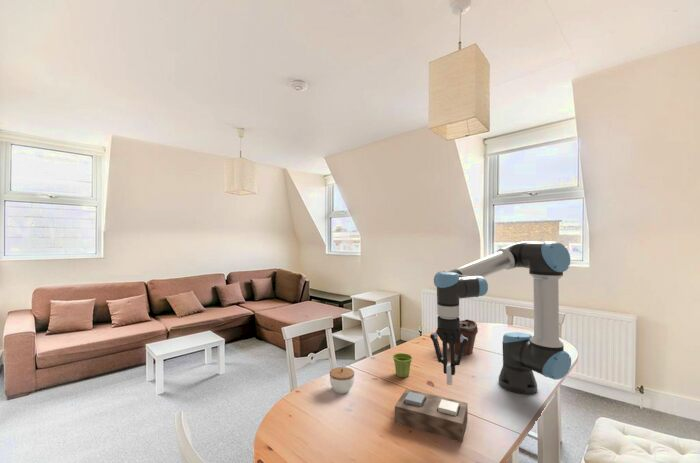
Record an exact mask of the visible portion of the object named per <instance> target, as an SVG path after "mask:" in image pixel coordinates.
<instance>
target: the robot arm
mask: <svg viewBox="0 0 700 463" xmlns="http://www.w3.org/2000/svg"><path fill="white" fill-rule="evenodd" d="M570 266H571V255H570V252H569V250H568V249H567V247H565V245H564V244H563V243H560V242H558V241H549V240H545V241H543V240H542V241H540V240H539V241H538V240H535V241H534V240H531V241H530V240H524V241H523V240H522V241H518V242H515V243H512V244H508V245H507V246H503V247H502V248H499V249H498V250H496V252H495V253H492V254H490V255H487V256H485V257H483V258H479V259H477V260H475V261H472V262H470V263H467V264H465V265H462V266H459V267H458V268H454V269H452V270H449V271H445V270H443V271H442V270H441V271H438V272H436V274H435V275H434V276H433V285H434V286H435V287H436V306H437V307H436V309H437V310H436V313H437V318H436V319H437V321H436V322H437V329H436V330H435V332H432V333H431V334H430V336H429V337H430V339H431V341H432V343H433V347H434V350H435V351H434V352H435V354H436V359H437V361H438V363H441V364H442V365H443V366H442V367H443V368H442V370H443V374H444V375H446V385H448V386H452V384H453V376H455V374H456V366H460V365H461V361H462V357H463V350H464V346H465V344H466V343H467V341H468V338H467V337H464V336H463V335H461V331H460V321H461V319H460V314H461V313H460V299H465V298H466V299H467V298H478V297H483V296H485V295H486V294H487V293H488V291H489V284H488V282H487V280H486V278H485V277H488V276H491V275H493V274H495V273H498V272H500V271H503V270H511V269H514V268H523V269H524V268H525V269H528V272H529V273H528V274H529V275H530V276H531V277H532V278H533V335H532V334H530V333H527V332H526V333H525V332H506V333H504V334H503V337H502V367H501V370H500V373H499V375H498V384H499V385H500V387H502V388H504V389H505V390H507V391H510V392H513V393H516V394H523V395H532V394H535V393H537V392H538V384H537V380H536V377H535V375H534V372H536V373H537V374H539V375H542V376H544V377H545V378H549V379H551V380H554V381H556V380H557V381H558V380H561V379H564V377H565V376H567V375H568V373H569V371H570V370H571V367H572V357H571V356H570V354H569V353H568V352H567V351H565V349H564V343H563V342H562V341H561V340H560V317H559V316H560V314H559V313H560V312H559V311H560V308H559V306H560V304H559V302H560V301H559V280H560V279H561V278H562V277H563V276H564V272H566V271H568V269H569V268H570ZM438 338H439V339H440V341H441V342H442V351H441V347H440V342H439V340H438ZM459 338H460V342H461V345H460V349H459V353H458V354H457V357H456V353H455V343H456V341H457V340H458V339H459ZM448 343H450V350H449V351H450V352H449V353H450V362H449V357H448V356H449V354H448V349H449V345H448Z"/></svg>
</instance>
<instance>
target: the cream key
mask: <svg viewBox="0 0 700 463" xmlns="http://www.w3.org/2000/svg"><path fill="white" fill-rule="evenodd" d="M438 412H442V413H446V414H450V415H454V416H458V413H459V403H456V402H452V401H447V400H443V399H441V402H440V404H439V407H438Z"/></svg>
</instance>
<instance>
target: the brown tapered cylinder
mask: <svg viewBox="0 0 700 463" xmlns="http://www.w3.org/2000/svg"><path fill="white" fill-rule="evenodd" d="M478 330H479V329H478V324H477V323H476V322H475V321H474V320H472V319H464V320H460V331H461V335H463V336H464V337H467V338H468V341H467V343H466V344H465V346H464V350H463V354H462V356H463V355H465V356H466V355H471V354H472V353H473V352H474V351H473V350H474V345H475V342H476V336H477V334H478V332H479V331H478ZM447 345H448V349H449V351H450V343H448V344H447ZM460 345H461V342H460V338H459V339H458V340H457V341H456V343H455V355H456V354H457V355H458V353H459V349H460Z"/></svg>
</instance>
